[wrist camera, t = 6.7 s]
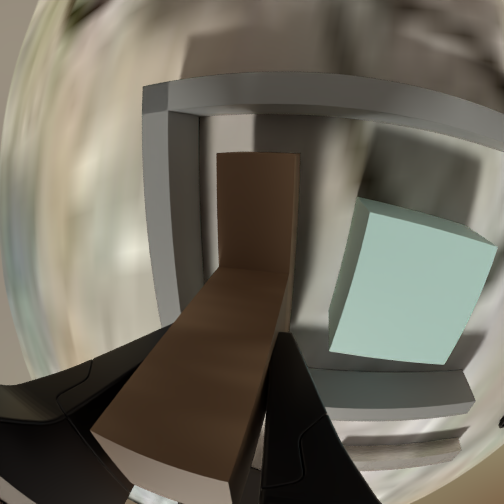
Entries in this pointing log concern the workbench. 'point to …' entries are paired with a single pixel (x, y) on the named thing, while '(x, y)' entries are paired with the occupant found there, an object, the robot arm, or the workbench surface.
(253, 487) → the phone stand
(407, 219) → the teal block
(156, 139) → the cubby
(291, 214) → the wooden l-shaped block
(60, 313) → the workbench surface
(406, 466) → the steel bar
